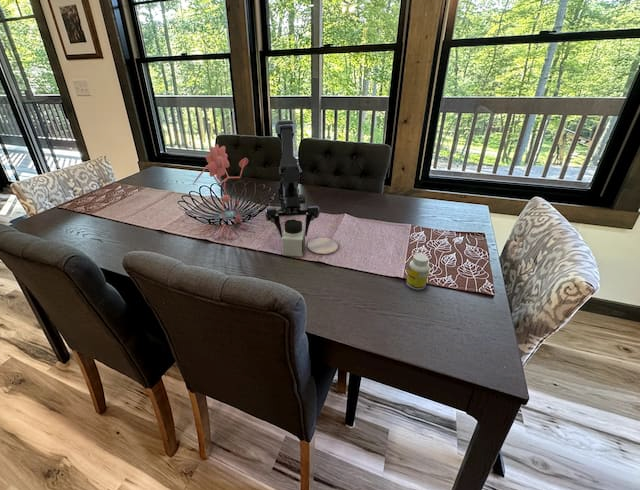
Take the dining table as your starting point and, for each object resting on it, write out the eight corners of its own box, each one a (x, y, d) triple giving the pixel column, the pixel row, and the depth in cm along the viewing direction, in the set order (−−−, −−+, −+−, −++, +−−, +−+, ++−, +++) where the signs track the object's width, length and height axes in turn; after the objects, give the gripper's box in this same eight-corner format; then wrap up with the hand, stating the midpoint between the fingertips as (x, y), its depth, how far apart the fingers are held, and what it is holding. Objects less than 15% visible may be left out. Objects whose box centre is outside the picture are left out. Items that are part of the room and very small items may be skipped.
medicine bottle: (302, 257, 108) (302, 226, 102) (282, 255, 109) (280, 225, 104) (305, 246, 114) (305, 217, 108) (286, 245, 115) (284, 216, 110)
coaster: (301, 247, 114) (301, 246, 113) (319, 235, 121) (319, 234, 120) (326, 258, 107) (326, 257, 107) (343, 245, 114) (343, 244, 114)
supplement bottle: (402, 279, 95) (407, 252, 90) (420, 278, 95) (425, 251, 91) (410, 291, 90) (416, 263, 86) (429, 289, 90) (435, 261, 86)
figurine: (258, 221, 134) (251, 138, 118) (218, 250, 114) (204, 156, 98) (230, 214, 141) (220, 135, 125) (188, 240, 122) (170, 151, 105)
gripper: (263, 187, 104) (265, 231, 100) (319, 184, 104) (323, 228, 100) (265, 199, 115) (267, 240, 110) (315, 196, 115) (319, 237, 110)
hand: (293, 236), depth 107 cm, fingers open, 8 cm apart
